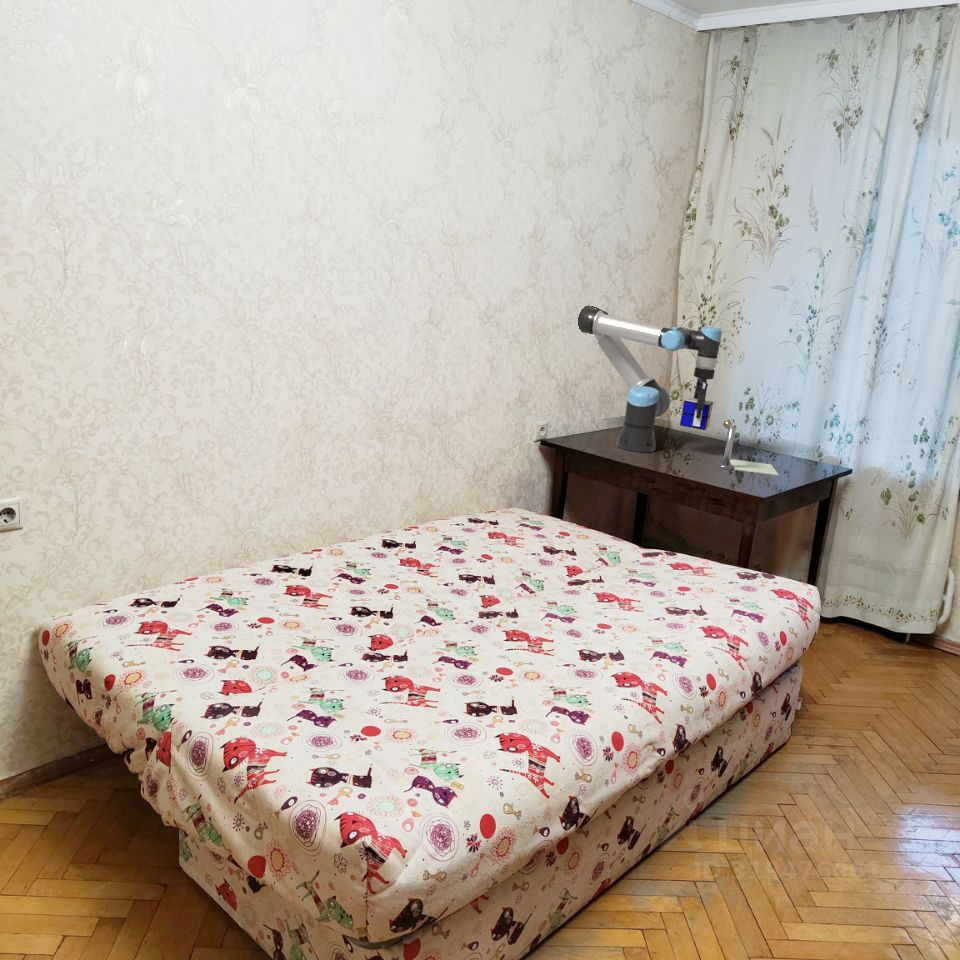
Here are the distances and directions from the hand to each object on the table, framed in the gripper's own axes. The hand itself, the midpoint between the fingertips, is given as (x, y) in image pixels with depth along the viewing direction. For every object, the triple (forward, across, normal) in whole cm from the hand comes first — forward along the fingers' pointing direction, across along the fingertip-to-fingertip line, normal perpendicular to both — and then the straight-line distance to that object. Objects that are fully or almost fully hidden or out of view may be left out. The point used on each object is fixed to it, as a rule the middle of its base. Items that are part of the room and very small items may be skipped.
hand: (694, 423), depth 349 cm
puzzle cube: (+1, 0, 0) cm, 1 cm away
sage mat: (+11, -14, -23) cm, 29 cm away
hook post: (+11, -15, -12) cm, 22 cm away
